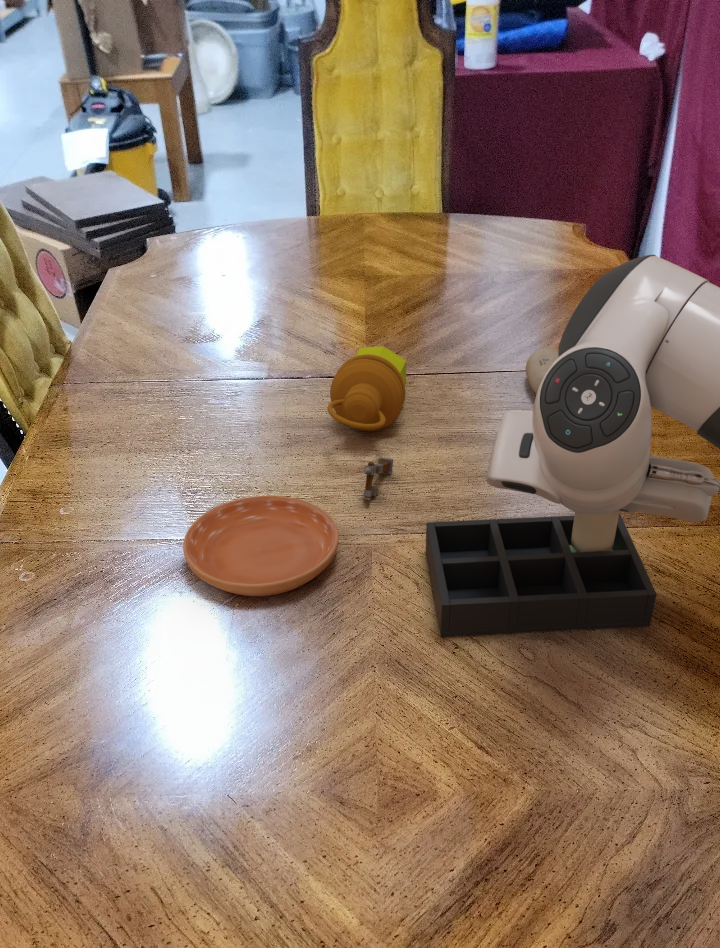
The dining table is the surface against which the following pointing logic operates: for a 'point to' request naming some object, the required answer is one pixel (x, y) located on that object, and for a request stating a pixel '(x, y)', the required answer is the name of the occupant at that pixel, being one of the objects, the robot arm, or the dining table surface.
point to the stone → (539, 366)
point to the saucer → (261, 545)
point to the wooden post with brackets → (382, 467)
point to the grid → (532, 578)
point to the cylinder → (594, 532)
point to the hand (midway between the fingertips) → (599, 499)
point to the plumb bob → (369, 389)
